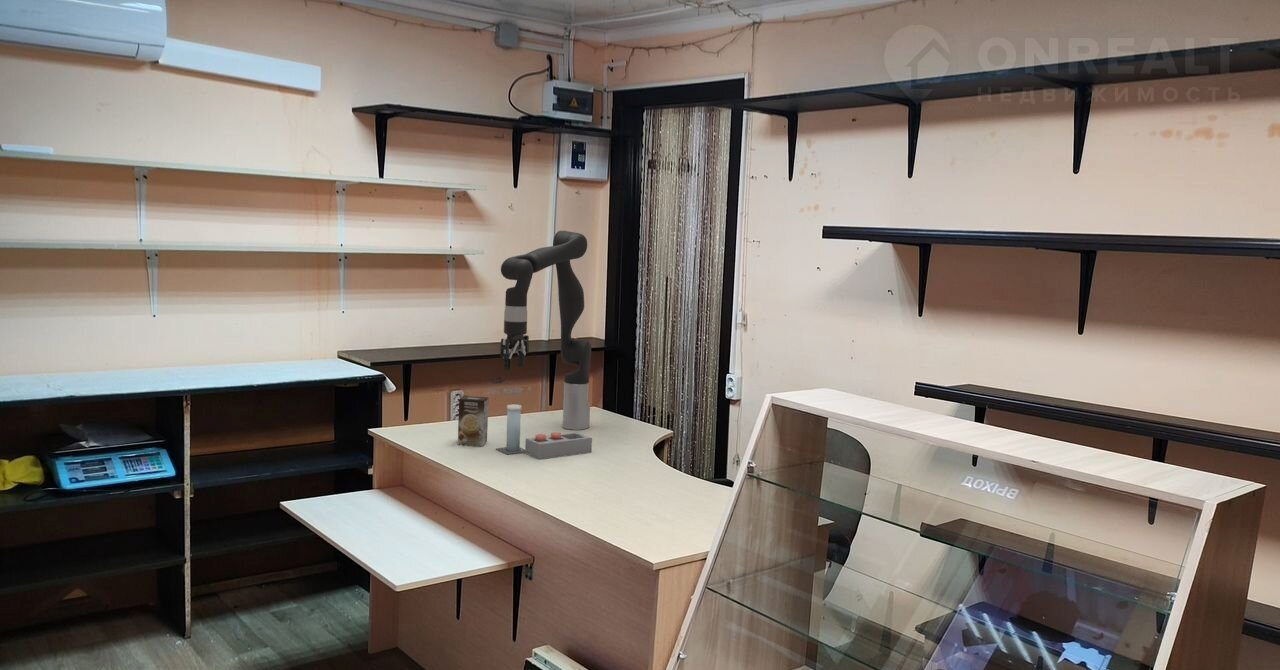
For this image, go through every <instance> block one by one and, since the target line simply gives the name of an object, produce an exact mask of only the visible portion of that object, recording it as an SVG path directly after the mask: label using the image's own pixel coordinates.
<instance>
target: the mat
mask: <svg viewBox="0 0 1280 670" xmlns="http://www.w3.org/2000/svg"><path fill="white" fill-rule="evenodd" d="M495 450H496V451H497V450H498V452H500V451H501V452H500V453H502V452H503V453H502V454H504V453H505V454H504V455H506V454H507V455H506V456H509V454H512V455H517V454H518V453H519V454H526V453H525V449H524V448H523V447H520V450H519V451H515V452H512V451H507V450H506V446H505V447H504V446H503V447H499V448H495Z"/></svg>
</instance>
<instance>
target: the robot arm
mask: <svg viewBox="0 0 1280 670" xmlns="http://www.w3.org/2000/svg"><path fill="white" fill-rule="evenodd" d="M587 249H588V239H587V237H586V236H585V235H584V234H582V233H579V232H575V231H574V232H573V231H568V230H558V231H557V232H556V233H555V235H554V236H553V241H552V246H544V247H539V248H537V249H534V250H532V251H529V252H527V253H524V254H520V255H515V256H514V255H513V256H511V257H508V258H507V259H505V260H503V262H502V263H501V266H500V273H501V275H502V277H503V278H505V279H506V280H510V281H516V282H515V285H514V286H512V287H508V288H506V291H505V300H504V301H505V302H504V313H503V315H504V317H503V333H504V334H505V335H506V336H507V337H506V338H501V339H500V351H499V352H500V353H499V356H500V358H503V360H504V361H503V369H504V370H505V371H511V370H512V357H513V354H516V353H517V367H520V368H523V367H525V356H526V354H529V348H530V346H529V345H530V343H529V342H530V341H529V339H530V337H529V335H526V334H527V333H528V331H527V329H528V309H527V308H528V293H529V289H530V287H531V283H532V278H533V275H534V274H535V273H538V272H540V271H542V270H544V269H546V268H549V267H551V266H554V265H555V268H556V276H557V288H558V289H557V290H558V291H557V292H558V294H557V295H558V306H559V316H560V317H559V319H560V357H561V361H562V362H563V363H564V364H567V365H568V364H569V365H579V367H578V369H577V370H575V371H571V372H568V373H565V375H564V377H563V379H564V380H563V381H564V382H563V401H562V402H563V404H562V405H563V407H562V409H563V410H562V412H563V413H562V428H564V429H566V430H571V429H572V431H573V430H574V431H575V430H576V431H577V430H578V431H579V430H585V429H588V428H590V420H591V419H590V418H591V402H589V388H590V387H589V384H590V383H589V382H590V372H591V371H590V369H591V359H592V345H591V342H590V341H589V340H583V339H572V331H573V329H574V327H575V325H576V323H577V322H578V320H579V319H580V317H581V316H582V314H583V312H584V310H585V294H584V293H585V291H584V287H583V286H582V284H581V282H580V280H579V278H578V277H577V276H576V274H575V272H574V271H573V268H572V264H571V261H572V260H577V259H580V258H583V256H584V255H585V254H586V252H587ZM515 352H516V353H515Z"/></svg>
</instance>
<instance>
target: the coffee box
mask: <svg viewBox="0 0 1280 670" xmlns="http://www.w3.org/2000/svg"><path fill="white" fill-rule="evenodd" d="M488 422H489V397H487V396H478V395H477V396H476V395H475V396H474V395H462V396H461V397H460V398H459V399H458V426H457V445H459V444H464V445H463V446H471V445H475V446H474V447H484V446H485V445H486V444H487V443H488V430H489V428H488V424H489V423H488ZM486 442H487V443H486ZM485 443H486V444H485ZM484 444H485V445H484ZM483 445H484V446H483Z"/></svg>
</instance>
